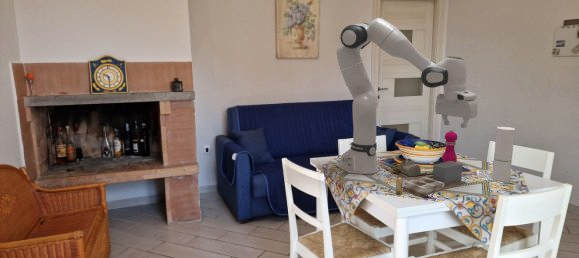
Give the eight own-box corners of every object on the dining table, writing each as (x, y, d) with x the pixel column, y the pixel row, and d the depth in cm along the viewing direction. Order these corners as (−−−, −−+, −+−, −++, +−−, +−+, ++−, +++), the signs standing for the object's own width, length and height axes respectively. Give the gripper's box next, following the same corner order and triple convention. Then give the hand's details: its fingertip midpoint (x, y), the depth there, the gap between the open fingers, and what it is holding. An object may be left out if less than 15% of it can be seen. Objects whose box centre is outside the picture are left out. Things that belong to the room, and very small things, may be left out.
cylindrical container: (507, 180, 187) (513, 127, 182) (510, 185, 180) (516, 130, 175) (490, 179, 189) (495, 126, 184) (492, 183, 182) (498, 129, 177)
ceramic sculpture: (407, 162, 185) (390, 156, 199) (407, 181, 186) (389, 173, 200) (427, 160, 188) (408, 154, 202) (427, 179, 190) (408, 171, 204)
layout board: (402, 190, 175) (403, 176, 174) (444, 178, 190) (445, 166, 188) (425, 198, 165) (426, 184, 164) (467, 186, 180) (468, 173, 178)
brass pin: (394, 193, 171) (395, 177, 170) (398, 192, 173) (399, 176, 171) (399, 195, 169) (399, 179, 168) (403, 193, 170) (404, 178, 169)
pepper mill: (457, 169, 204) (460, 130, 200) (442, 168, 205) (445, 130, 201) (454, 165, 211) (457, 127, 207) (440, 164, 212) (442, 127, 208)
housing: (432, 182, 180) (433, 165, 179) (449, 177, 187) (450, 160, 185) (443, 186, 175) (445, 168, 174) (461, 181, 182) (462, 163, 180)
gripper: (431, 94, 182) (431, 124, 185) (468, 96, 164) (468, 130, 167) (442, 92, 185) (442, 122, 187) (480, 95, 167) (479, 128, 169)
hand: (455, 126), depth 177 cm, fingers open, 8 cm apart
